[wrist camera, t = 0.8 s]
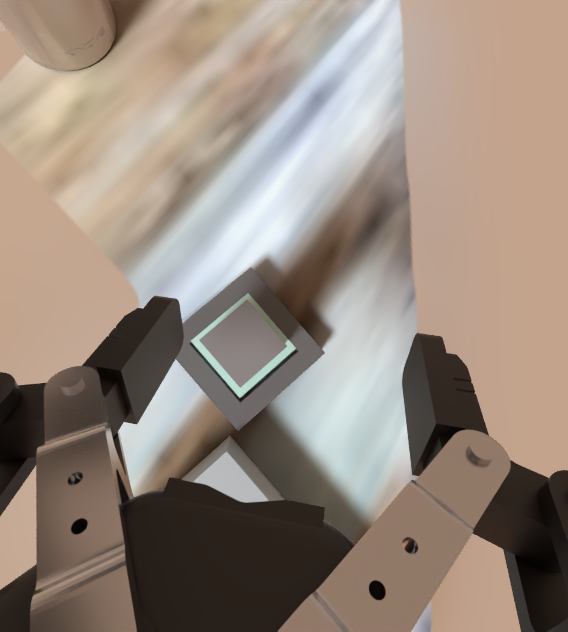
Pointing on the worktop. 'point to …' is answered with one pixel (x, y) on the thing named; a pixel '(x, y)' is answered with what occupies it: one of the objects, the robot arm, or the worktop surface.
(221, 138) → the worktop surface
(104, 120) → the worktop surface
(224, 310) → the grey square tray
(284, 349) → the plug
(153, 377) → the robot arm
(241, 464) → the grey divided tray
